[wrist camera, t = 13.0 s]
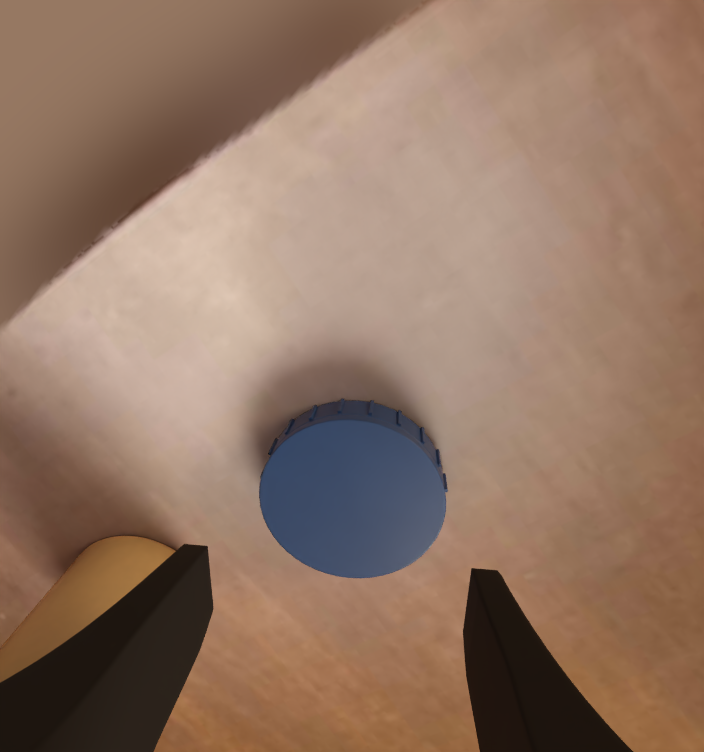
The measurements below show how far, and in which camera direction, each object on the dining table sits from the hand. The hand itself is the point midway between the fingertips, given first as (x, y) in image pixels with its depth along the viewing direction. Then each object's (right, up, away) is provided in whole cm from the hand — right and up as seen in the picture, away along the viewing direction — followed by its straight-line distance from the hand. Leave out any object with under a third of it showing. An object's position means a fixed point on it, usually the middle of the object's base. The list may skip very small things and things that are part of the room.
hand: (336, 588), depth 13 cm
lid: (0, +1, +4) cm, 4 cm away
